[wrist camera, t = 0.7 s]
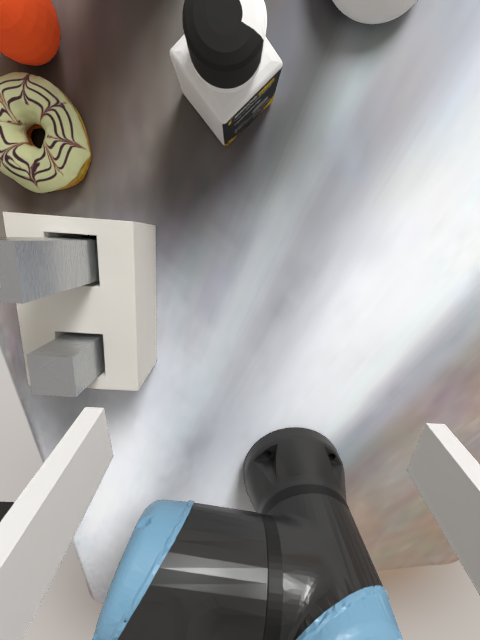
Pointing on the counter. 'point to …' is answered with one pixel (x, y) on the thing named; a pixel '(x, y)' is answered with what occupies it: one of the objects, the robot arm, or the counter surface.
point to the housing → (99, 296)
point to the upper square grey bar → (45, 266)
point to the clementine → (29, 31)
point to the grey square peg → (66, 364)
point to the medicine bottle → (226, 63)
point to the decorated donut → (60, 140)
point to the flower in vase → (373, 9)
